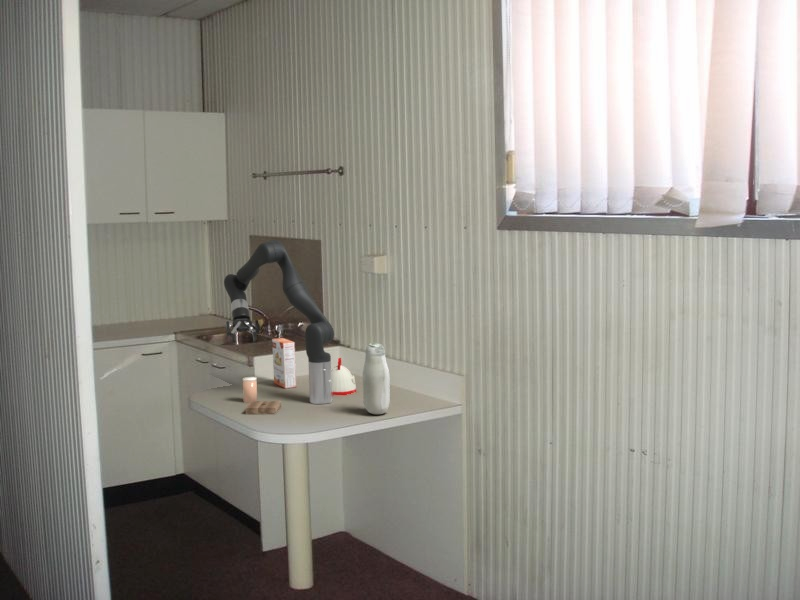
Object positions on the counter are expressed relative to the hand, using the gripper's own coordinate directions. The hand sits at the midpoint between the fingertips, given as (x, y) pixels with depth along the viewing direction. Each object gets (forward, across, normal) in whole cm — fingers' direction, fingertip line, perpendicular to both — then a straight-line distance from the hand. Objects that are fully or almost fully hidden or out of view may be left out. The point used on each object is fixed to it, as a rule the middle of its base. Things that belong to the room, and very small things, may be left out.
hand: (244, 341), depth 395 cm
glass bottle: (+54, +44, -20) cm, 72 cm away
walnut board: (+38, +3, -4) cm, 38 cm away
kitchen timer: (+22, +40, +12) cm, 47 cm away
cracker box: (+6, +20, +28) cm, 35 cm away
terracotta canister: (+24, 0, +9) cm, 26 cm away
